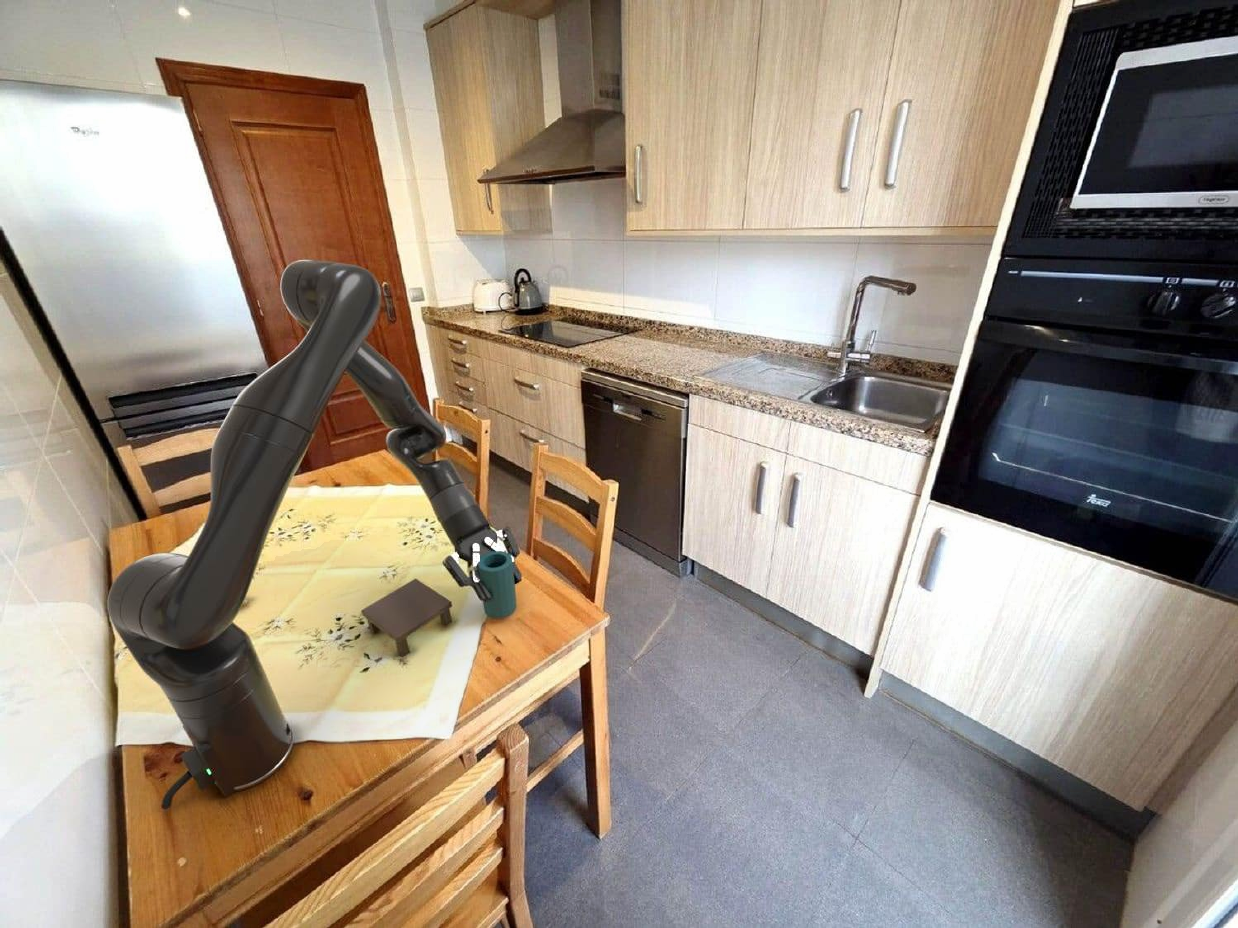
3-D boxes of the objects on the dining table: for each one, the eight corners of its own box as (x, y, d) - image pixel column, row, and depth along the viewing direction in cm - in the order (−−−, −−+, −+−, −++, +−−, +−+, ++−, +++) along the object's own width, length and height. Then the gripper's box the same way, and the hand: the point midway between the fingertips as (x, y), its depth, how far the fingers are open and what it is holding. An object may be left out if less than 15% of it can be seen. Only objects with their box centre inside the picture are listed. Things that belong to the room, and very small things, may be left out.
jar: (499, 623, 91) (493, 575, 86) (477, 609, 94) (470, 562, 90) (523, 605, 96) (518, 558, 91) (501, 592, 99) (496, 546, 94)
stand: (402, 660, 85) (396, 638, 83) (366, 631, 91) (360, 610, 89) (455, 622, 93) (451, 601, 91) (419, 598, 99) (415, 578, 97)
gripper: (429, 522, 86) (477, 607, 84) (498, 491, 96) (542, 567, 94) (418, 535, 91) (463, 616, 90) (484, 505, 101) (526, 577, 100)
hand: (503, 591), depth 92 cm, fingers closed on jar, 6 cm apart
